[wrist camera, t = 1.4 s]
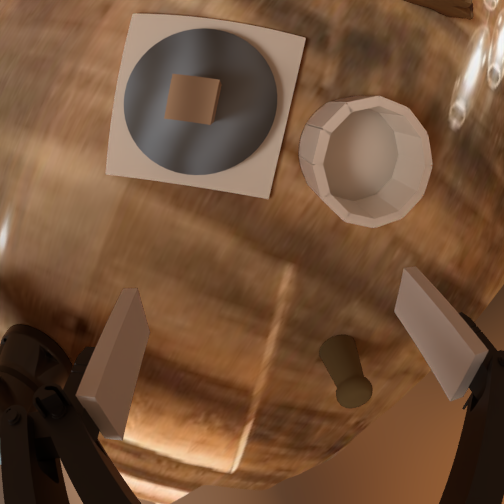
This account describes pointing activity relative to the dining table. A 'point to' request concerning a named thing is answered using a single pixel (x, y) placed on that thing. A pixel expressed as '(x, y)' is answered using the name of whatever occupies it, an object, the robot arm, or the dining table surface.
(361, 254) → the dining table surface
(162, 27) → the mat
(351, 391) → the cork
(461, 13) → the wooden carving
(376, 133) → the bowl
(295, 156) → the dining table surface
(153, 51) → the lid
